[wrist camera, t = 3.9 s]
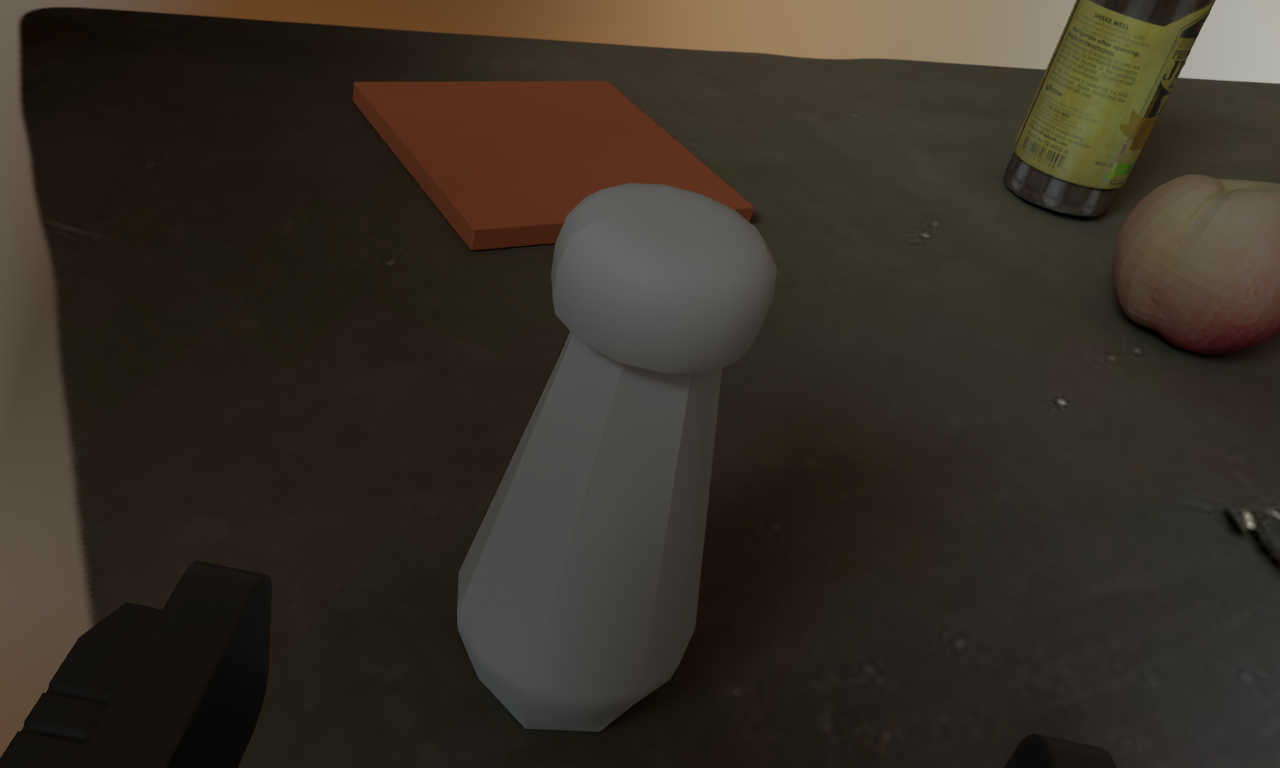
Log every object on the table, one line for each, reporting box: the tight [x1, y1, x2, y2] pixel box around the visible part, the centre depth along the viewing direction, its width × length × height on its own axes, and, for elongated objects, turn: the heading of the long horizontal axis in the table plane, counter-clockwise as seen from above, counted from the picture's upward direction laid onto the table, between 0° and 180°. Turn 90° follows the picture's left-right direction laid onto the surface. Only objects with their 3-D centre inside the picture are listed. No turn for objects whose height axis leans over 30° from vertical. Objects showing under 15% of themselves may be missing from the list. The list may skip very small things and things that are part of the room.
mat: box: [353, 81, 754, 251], centre depth 52 cm, size 14×14×1 cm
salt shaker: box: [457, 183, 777, 732], centre depth 25 cm, size 6×6×13 cm
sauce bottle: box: [1004, 0, 1215, 217], centre depth 57 cm, size 6×6×20 cm
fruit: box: [1112, 174, 1280, 354], centre depth 49 cm, size 8×8×8 cm
